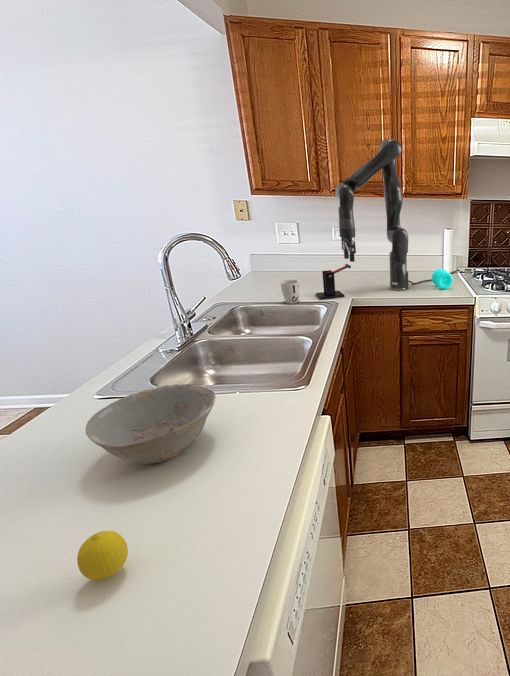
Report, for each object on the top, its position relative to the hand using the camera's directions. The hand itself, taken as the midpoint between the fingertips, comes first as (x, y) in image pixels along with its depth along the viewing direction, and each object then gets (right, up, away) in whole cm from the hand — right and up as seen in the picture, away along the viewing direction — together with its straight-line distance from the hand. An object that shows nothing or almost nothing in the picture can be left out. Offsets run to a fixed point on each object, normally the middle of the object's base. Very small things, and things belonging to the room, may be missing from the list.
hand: (349, 260), depth 201 cm
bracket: (-10, -18, +1) cm, 21 cm away
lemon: (-1, -72, -141) cm, 158 cm away
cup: (-25, -22, -11) cm, 35 cm away
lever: (-5, -7, -1) cm, 9 cm away
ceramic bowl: (-12, -62, -114) cm, 130 cm away
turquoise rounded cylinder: (+47, -12, +24) cm, 54 cm away
